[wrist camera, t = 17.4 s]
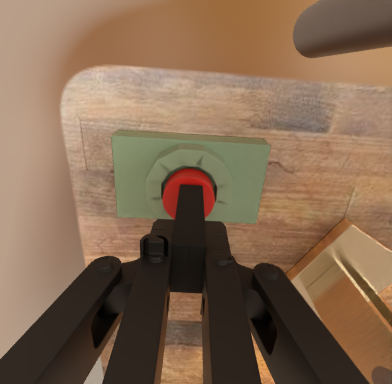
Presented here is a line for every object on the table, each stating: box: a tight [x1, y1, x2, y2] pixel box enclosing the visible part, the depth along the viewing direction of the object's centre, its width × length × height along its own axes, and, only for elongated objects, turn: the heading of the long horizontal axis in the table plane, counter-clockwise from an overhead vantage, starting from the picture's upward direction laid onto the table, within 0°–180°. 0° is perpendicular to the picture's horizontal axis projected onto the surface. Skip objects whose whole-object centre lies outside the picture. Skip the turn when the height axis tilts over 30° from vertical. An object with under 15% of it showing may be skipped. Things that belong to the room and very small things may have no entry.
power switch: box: [286, 218, 392, 384], centre depth 22 cm, size 12×9×13 cm
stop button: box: [163, 168, 215, 219], centre depth 18 cm, size 4×4×2 cm
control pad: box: [111, 130, 271, 224], centre depth 20 cm, size 12×7×4 cm, turn 86°
